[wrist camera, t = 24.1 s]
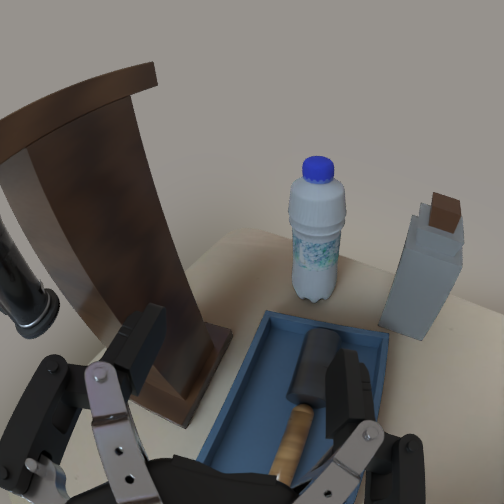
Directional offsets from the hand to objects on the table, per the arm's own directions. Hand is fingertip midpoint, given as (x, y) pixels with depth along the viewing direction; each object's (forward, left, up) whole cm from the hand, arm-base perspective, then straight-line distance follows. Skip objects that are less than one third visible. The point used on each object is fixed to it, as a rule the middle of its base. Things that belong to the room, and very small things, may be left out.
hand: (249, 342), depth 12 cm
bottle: (+13, +17, -20) cm, 30 cm away
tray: (+3, -1, -20) cm, 20 cm away
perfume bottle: (+23, +7, -20) cm, 31 cm away
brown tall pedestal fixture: (-9, +12, -20) cm, 25 cm away
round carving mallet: (+3, 0, -20) cm, 20 cm away
